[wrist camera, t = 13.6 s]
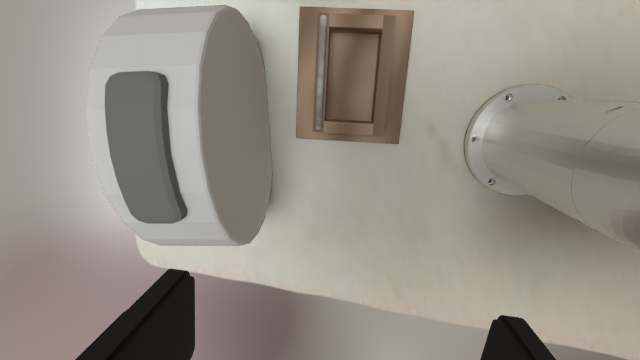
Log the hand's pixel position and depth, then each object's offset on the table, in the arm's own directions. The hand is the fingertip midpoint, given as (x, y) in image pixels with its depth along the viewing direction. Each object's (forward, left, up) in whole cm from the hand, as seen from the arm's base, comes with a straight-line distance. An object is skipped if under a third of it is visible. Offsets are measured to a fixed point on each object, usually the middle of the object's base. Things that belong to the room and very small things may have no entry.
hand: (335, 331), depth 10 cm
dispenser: (-1, -9, -30) cm, 31 cm away
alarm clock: (+13, -3, -30) cm, 32 cm away
